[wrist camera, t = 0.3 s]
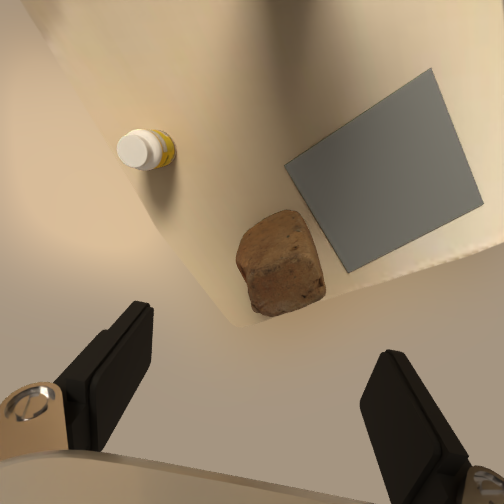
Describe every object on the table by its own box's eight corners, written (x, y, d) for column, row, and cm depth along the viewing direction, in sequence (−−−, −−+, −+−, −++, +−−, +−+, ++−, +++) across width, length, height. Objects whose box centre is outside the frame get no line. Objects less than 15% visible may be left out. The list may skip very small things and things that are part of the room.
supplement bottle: (154, 171, 46) (124, 179, 36) (137, 138, 44) (102, 138, 35) (183, 158, 44) (159, 164, 35) (167, 124, 43) (138, 120, 34)
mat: (284, 165, 44) (284, 165, 43) (429, 68, 38) (431, 67, 37) (348, 272, 50) (348, 273, 49) (482, 203, 44) (483, 203, 43)
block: (299, 202, 46) (315, 245, 27) (313, 242, 48) (338, 306, 30) (239, 225, 48) (217, 280, 30) (256, 262, 50) (245, 334, 32)
